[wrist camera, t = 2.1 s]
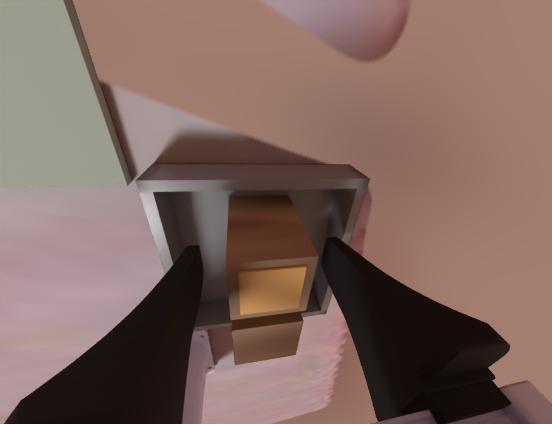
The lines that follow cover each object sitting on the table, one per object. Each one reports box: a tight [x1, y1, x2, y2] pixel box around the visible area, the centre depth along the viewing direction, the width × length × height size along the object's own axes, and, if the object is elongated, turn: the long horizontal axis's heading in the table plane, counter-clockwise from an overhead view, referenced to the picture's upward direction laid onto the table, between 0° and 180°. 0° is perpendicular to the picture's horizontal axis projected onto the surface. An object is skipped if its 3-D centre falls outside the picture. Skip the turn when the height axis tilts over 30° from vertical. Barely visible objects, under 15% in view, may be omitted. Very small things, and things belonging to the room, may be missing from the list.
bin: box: [136, 163, 370, 332], centre depth 15 cm, size 13×12×2 cm
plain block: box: [232, 311, 303, 365], centre depth 15 cm, size 4×4×6 cm
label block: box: [226, 195, 319, 320], centre depth 12 cm, size 4×4×6 cm
